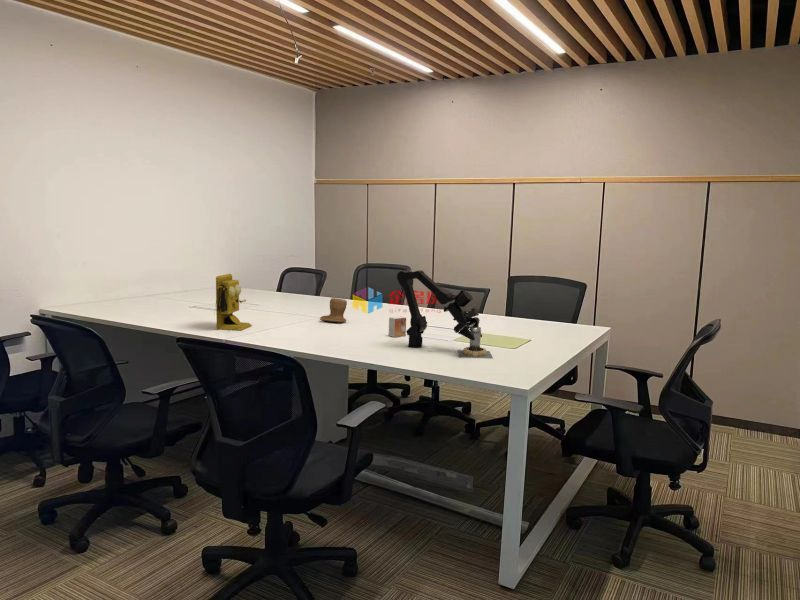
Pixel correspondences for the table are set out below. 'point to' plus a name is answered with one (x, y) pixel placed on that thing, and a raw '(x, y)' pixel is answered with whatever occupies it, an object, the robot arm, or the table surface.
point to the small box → (397, 326)
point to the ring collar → (474, 352)
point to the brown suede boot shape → (336, 311)
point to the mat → (461, 355)
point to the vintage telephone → (228, 304)
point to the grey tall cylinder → (475, 338)
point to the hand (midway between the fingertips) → (477, 338)
